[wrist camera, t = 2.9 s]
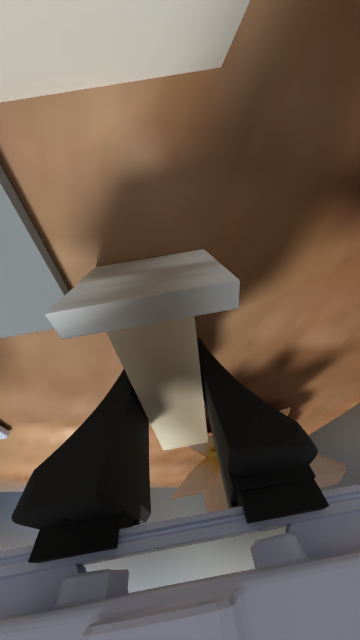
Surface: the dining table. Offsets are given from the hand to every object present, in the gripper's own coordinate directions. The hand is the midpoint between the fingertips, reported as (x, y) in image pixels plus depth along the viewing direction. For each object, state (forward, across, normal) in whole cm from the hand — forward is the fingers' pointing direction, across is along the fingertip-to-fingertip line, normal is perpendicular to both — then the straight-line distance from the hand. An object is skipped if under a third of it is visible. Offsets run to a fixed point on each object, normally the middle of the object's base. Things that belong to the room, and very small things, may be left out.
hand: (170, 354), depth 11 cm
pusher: (+1, 0, 0) cm, 1 cm away
